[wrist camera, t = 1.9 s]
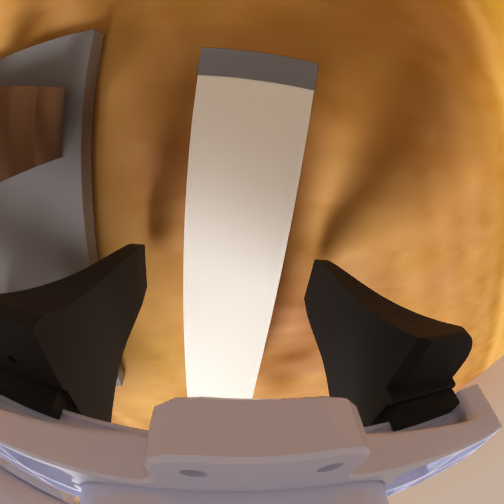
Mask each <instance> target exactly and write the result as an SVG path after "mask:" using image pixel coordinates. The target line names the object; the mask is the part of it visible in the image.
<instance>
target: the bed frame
mask: <svg viewBox="0 0 504 504" xmlns="http://www.w3.org/2000/svg"><path fill="white" fill-rule="evenodd" d="M103 39H104V34H103V33H101V32H99V31H98V30H96V29H92V30H88V31H83V32H79V33H75V34H71V35H67V36H63V37H59V38H56V39H53V40H49V41H46V42H43V43H40V44H37V45H34V46H31V47H29V48H26V49H23V50H21V51H18V52H16V53H13V54H11V55H9V56H6V57H4V58H2V59H0V294H2V293H9V292H16V291H21V290H26V289H31V288H34V287H38V286H42V285H45V284H48V283H51V282H54V281H57V280H60V279H63V278H65V277H67V276H70V275H72V274H75V273H77V272H79V271H81V270H83V269H85V268H87V267H89V266H90V265H92V264H94V263H96V262H98V261H99V259H98V251H97V243H96V234H95V224H94V212H93V196H92V127H93V111H94V100H95V90H96V82H97V74H98V67H99V61H100V55H101V49H102V44H103ZM124 377H125V375H124V371H123V368H122V365H121V363H120V367H119V372H118V377H117V382H116V385H117V386H122V383H123V380H124Z"/></svg>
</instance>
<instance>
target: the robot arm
mask: <svg viewBox="0 0 504 504" xmlns="http://www.w3.org/2000/svg"><path fill="white" fill-rule="evenodd" d="M146 288H147V279H146V265H145V246H144V245H142V244H129V245H126V246H124V247H123V248H121V249H119V250H117V251H115V252H114V253H112V254H110V255H109V256H107V257H105V258H103V259H102V260H100V261H98V262H96V263H94V264H92V265H90V266H89V267H87V268H85V269H83V270H81V271H79V272H77V273H75V274H72V275H70V276H67V277H65V278H63V279H60V280H57V281H54V282H51V283H48V284H45V285H42V286H38V287H34V288H31V289H26V290H21V291H16V292H9V293H2V294H0V504H389V502H388V499H387V497H388V496H390V495H393V494H395V493H398V492H400V491H402V490H405V489H407V488H409V487H411V486H414V485H416V484H418V483H420V482H422V481H424V480H426V479H428V478H430V477H432V476H434V475H436V474H438V473H440V472H441V471H444V470H445V469H447V468H449V467H451V466H453V465H455V464H456V463H458V462H460V461H461V460H463V459H464V458H466V457H467V456H468V455H470V454H471V453H472V452H474V451H475V450H476V449H477V448H479V447H480V446H481V445H482V444H484V443H485V442H486V441H487V440H488V439H490V438H491V437H492V436H493V435H494V434H495V433H496V432H497V431H499V429H501V427H502V425H501V423H500V422H499V420H498V418H497V416H496V414H495V413H494V411H493V409H492V408H491V406H490V404H489V402H488V401H487V399H486V397H485V396H484V394H483V393H482V391H481V389H480V388H479V386H478V385H477V384H475V385H472V386H469V387H467V388H464V389H462V390H460V391H459V392H457V393H456V394H455V393H454V391H453V390H452V388H454V386H455V382H454V380H453V378H452V377H453V376H454V375H455V373H456V372H457V371H458V370H459V368H460V367H461V365H462V364H463V363H464V361H465V360H466V358H467V357H468V355H469V353H470V351H471V348H472V338H471V336H470V335H469V334H468V333H467V331H466V330H465V329H464V328H463V327H461V326H457V325H453V324H449V323H445V322H441V321H437V320H434V319H431V318H428V317H425V316H423V315H420V314H417V313H415V312H413V311H410V310H408V309H406V308H403V307H401V306H399V305H397V304H395V303H393V302H392V301H390V300H388V299H386V298H384V297H383V296H381V295H379V294H378V293H376V292H374V291H373V290H371V289H370V288H368V287H367V286H365V285H364V284H362V283H361V282H359V281H358V280H357V279H355V278H354V277H352V276H351V275H350V274H348V273H347V272H345V271H344V270H343V269H341V268H340V267H338V266H337V265H335V264H334V263H332V262H330V261H328V260H317V259H315V260H314V264H313V268H312V272H311V275H310V279H309V283H308V286H307V290H306V294H305V297H304V300H305V305H306V311H307V316H308V319H309V322H310V325H311V328H312V331H313V334H314V336H315V339H316V342H317V345H318V348H319V351H320V353H321V356H322V360H323V363H324V368H325V373H326V378H327V383H328V389H329V395H330V397H326V396H320V397H305V398H282V399H241V398H218V397H203V396H200V397H176V398H174V399H171V400H169V401H167V402H164V403H162V404H160V405H157V406H155V407H154V410H153V414H152V417H151V423H150V429H149V430H143V429H138V428H133V427H128V426H123V425H118V424H114V423H111V416H112V407H113V400H114V393H115V387H116V382H117V377H118V372H119V367H120V363H121V359H122V355H123V351H124V348H125V345H126V342H127V340H128V337H129V335H130V333H131V330H132V328H133V325H134V323H135V320H136V318H137V316H138V313H139V311H140V308H141V306H142V303H143V299H144V296H145V292H146ZM75 496H77V497H80V501H79V502H78V501H77V500H76V499H75Z"/></svg>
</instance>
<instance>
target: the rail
mask: <svg viewBox="0 0 504 504" xmlns="http://www.w3.org/2000/svg"><path fill="white" fill-rule="evenodd" d="M318 65H319V64H318V63H313V62H309V61H305V60H300V59H295V58H290V57H285V56H279V55H273V54H267V53H260V52H253V51H244V50H235V49H223V48H207V47H201V53H200V59H199V65H198V72H197V75H198V78H197V85H196V93H195V100H194V109H193V117H192V127H191V137H190V147H189V159H188V172H187V186H186V204H185V226H184V267H183V302H184V343H185V364H186V381H187V395H188V397H200V396H203V397H218V398H241V399H252V396H253V392H254V388H255V384H256V380H257V376H258V372H259V368H260V364H261V360H262V355H263V351H264V347H265V343H266V338H267V334H268V330H269V325H270V321H271V317H272V312H273V308H274V303H275V299H276V294H277V290H278V285H279V280H280V276H281V271H282V266H283V261H284V256H285V252H286V247H287V242H288V237H289V232H290V226H291V221H292V216H293V211H294V206H295V200H296V195H297V190H298V184H299V179H300V173H301V167H302V162H303V156H304V150H305V144H306V138H307V132H308V126H309V120H310V113H311V107H312V100H313V94H314V91H315V86H316V79H317V72H318Z"/></svg>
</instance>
